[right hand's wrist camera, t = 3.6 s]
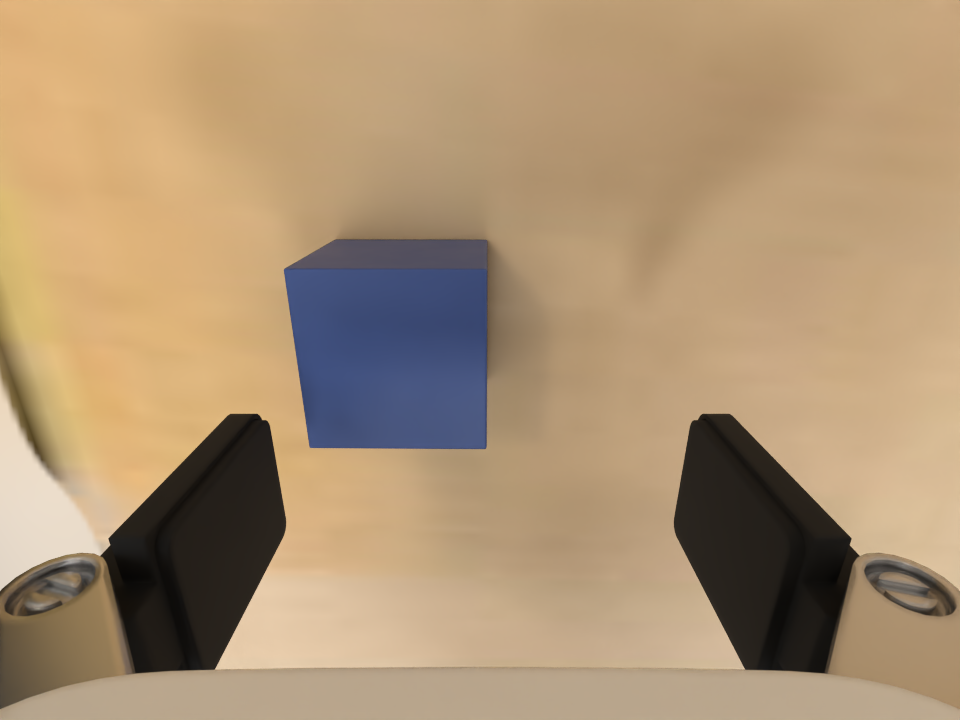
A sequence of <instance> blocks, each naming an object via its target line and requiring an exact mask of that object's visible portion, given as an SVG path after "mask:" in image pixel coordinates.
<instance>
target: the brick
mask: <svg viewBox="0 0 960 720" xmlns="http://www.w3.org/2000/svg"><path fill="white" fill-rule="evenodd" d="M284 274H285V281H286V288H287V295H288V301H289V308H290V315H291V322H292V329H293V336H294V343H295V350H296V356H297V363H298V370H299V377H300V384H301V391H302V398H303V405H304V411H305V418H306V425H307V432H308V439H309V446H310V448H407V449H486V447H487V240H334V241H332V242H330V243H329V244H327V245H325V246H323V247H322V248H320V249H318V250H316V251H315V252H313V253H311V254H309V255H308V256H306V257H304V258H302V259H301V260H299V261H297V262H295V263H294V264H292V265H290V266H289V267H287V268H285V269H284Z"/></svg>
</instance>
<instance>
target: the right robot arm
mask: <svg viewBox="0 0 960 720" xmlns="http://www.w3.org/2000/svg"><path fill="white" fill-rule="evenodd" d="M285 529H286V517H285V511H284V505H283V499H282V494H281V488H280V482H279V476H278V470H277V465H276V459H275V453H274V447H273V441H272V436H271V430H270V425H269V423H268V421H266V420H262V419H261V417H260V416H259V415H258V414H230V415H228V416H227V417H226V418H225V419H224V420H223V421H222V422H221V423H220V424H219V425H218V426H217V427H216V428H215V429H214V430H213V431H212V432H211V434H210V435H209V436H208V437H207V438H206V439H205V440H204V441H203V442H202V443H201V444H200V445H199V446H198V447H197V448H196V449H195V450H194V451H193V452H192V453H191V454H190V455H189V456H188V457H187V458H186V459H185V460H184V461H183V462H182V463H181V464H180V465H179V466H178V467H177V468H176V470H175V471H174V472H173V473H172V474H171V475H170V476H169V477H168V478H167V479H166V480H165V481H164V482H163V483H162V484H161V485H160V486H159V487H158V488H157V489H156V490H155V491H154V492H153V493H152V494H151V495H150V496H149V497H148V498H147V499H146V500H145V501H144V502H143V503H142V505H141V506H140V507H139V508H138V509H137V510H136V511H135V512H134V513H133V514H132V515H131V516H130V517H129V518H128V519H127V520H126V521H125V522H124V523H123V524H122V525H121V526H120V527H119V528H118V529H117V530H116V531H115V532H114V533H113V534H112V535H111V536H110V537H109V538H108V539H109V542H110V546H109V547H108V548H107V550H106V551H105V552H104V553H103V554H102V555H101V556H98V555H96V554H90V553H77V554H70V555H65V556H62V557H58V558H55V559H52V560H49V561H46V562H44V563H42V564H40V565H37V566H35V567H33V568H31V569H29V570H28V571H26V572H24V573H23V574H21V575H19V576H18V577H16V578H15V579H14V580H12V581H11V582H10V583H9V584H7V585H6V586H5V587H4V588H3V589H2V590H1V591H0V720H960V591H959V590H958V589H957V588H956V587H955V586H954V585H953V584H951V583H950V582H949V581H948V580H946V579H945V578H944V577H942V576H941V575H939V574H937V573H936V572H934V571H932V570H931V569H929V568H927V567H925V566H923V565H920V564H918V563H916V562H914V561H911V560H908V559H905V558H902V557H898V556H895V555H890V554H883V553H869V554H864V555H862V556H859V555H858V554H857V553H856V552H855V551H854V550H853V548H852V547H851V546H850V542H851V539H852V538H851V537H850V536H849V535H848V534H847V533H846V532H845V531H844V530H843V529H842V528H841V527H840V526H839V525H838V524H837V523H836V522H835V521H834V520H833V519H832V518H831V517H830V516H829V515H828V514H827V513H826V512H825V511H824V510H823V509H822V508H821V507H820V506H819V505H818V503H817V502H816V501H815V500H814V499H813V498H812V497H811V496H810V495H809V494H808V493H807V492H806V491H805V490H804V489H803V488H802V487H801V486H800V485H799V484H798V483H797V482H796V481H795V480H794V479H793V478H792V477H791V476H790V475H789V474H788V473H787V472H786V471H785V470H784V468H783V467H782V466H781V465H780V464H779V463H778V462H777V461H776V460H775V459H774V458H773V457H772V456H771V455H770V454H769V453H768V452H767V451H766V450H765V449H764V448H763V447H762V446H761V445H760V444H759V443H758V442H757V441H756V440H755V439H754V438H753V437H752V436H751V435H750V434H749V432H748V431H747V430H746V429H745V428H744V427H743V426H742V425H741V424H740V423H739V422H738V421H737V420H736V419H735V418H734V417H733V416H732V415H730V414H702V415H701V416H700V417H699V419H698V420H694V421H692V423H691V425H690V430H689V436H688V441H687V447H686V453H685V459H684V465H683V470H682V476H681V482H680V488H679V494H678V499H677V505H676V511H675V517H674V529H675V533H676V536H677V538H678V540H679V542H680V544H681V546H682V548H683V550H684V552H685V554H686V556H687V558H688V560H689V562H690V564H691V566H692V567H693V569H694V571H695V573H696V575H697V577H698V579H699V581H700V583H701V585H702V587H703V589H704V591H705V593H706V595H707V596H708V598H709V600H710V602H711V604H712V606H713V608H714V610H715V612H716V614H717V616H718V618H719V620H720V622H721V624H722V626H723V627H724V629H725V631H726V633H727V635H728V637H729V639H730V641H731V643H732V645H733V647H734V649H735V651H736V653H737V655H738V656H739V658H740V660H741V662H742V664H743V666H744V668H745V670H734V669H676V668H540V667H420V668H284V669H226V670H215V668H216V666H217V664H218V662H219V660H220V658H221V656H222V655H223V653H224V651H225V649H226V647H227V645H228V643H229V641H230V639H231V637H232V635H233V633H234V631H235V629H236V627H237V626H238V624H239V622H240V620H241V618H242V616H243V614H244V612H245V610H246V608H247V606H248V604H249V602H250V600H251V598H252V596H253V595H254V593H255V591H256V589H257V587H258V585H259V583H260V581H261V579H262V577H263V575H264V573H265V571H266V569H267V567H268V566H269V564H270V562H271V560H272V558H273V556H274V554H275V552H276V550H277V548H278V546H279V544H280V542H281V540H282V538H283V536H284V533H285Z"/></svg>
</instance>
